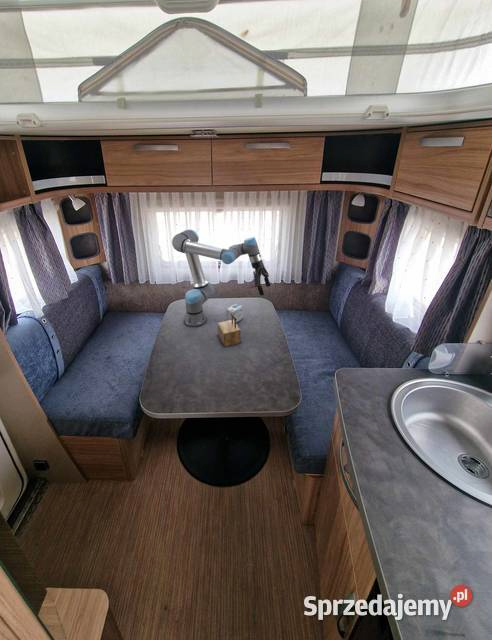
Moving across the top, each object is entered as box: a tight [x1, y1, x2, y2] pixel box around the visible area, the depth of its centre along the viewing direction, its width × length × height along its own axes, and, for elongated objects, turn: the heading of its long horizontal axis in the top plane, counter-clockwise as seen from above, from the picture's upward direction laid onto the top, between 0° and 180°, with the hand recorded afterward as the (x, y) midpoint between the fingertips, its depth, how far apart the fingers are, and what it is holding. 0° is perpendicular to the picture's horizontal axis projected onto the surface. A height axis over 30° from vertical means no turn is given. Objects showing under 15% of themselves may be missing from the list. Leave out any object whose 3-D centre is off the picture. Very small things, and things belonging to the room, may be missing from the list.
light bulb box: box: [225, 303, 243, 323], centre depth 206 cm, size 11×7×11 cm, turn 134°
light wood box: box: [217, 313, 242, 348], centre depth 184 cm, size 11×13×17 cm
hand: (265, 290), depth 189 cm, fingers open, 13 cm apart
